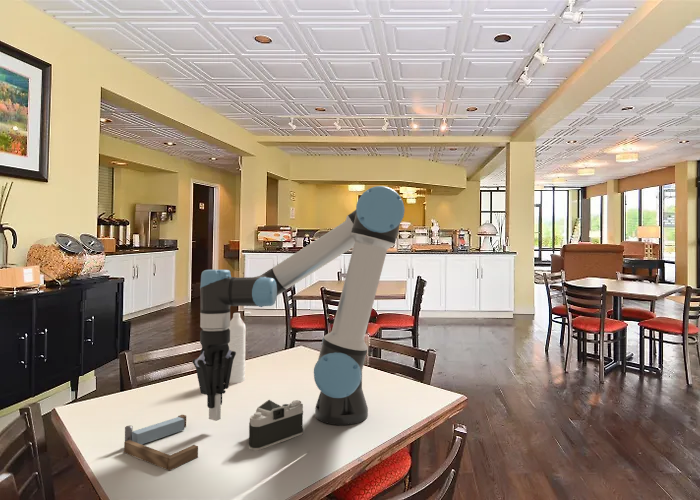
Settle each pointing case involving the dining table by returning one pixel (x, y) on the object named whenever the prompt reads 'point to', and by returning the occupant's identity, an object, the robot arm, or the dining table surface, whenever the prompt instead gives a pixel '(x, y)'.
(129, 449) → the back rail
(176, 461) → the left rail
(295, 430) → the camera
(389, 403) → the dining table surface
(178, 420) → the leg bar
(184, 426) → the stop block
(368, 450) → the dining table surface
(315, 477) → the dining table surface
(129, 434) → the pivot pin
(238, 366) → the water bottle
